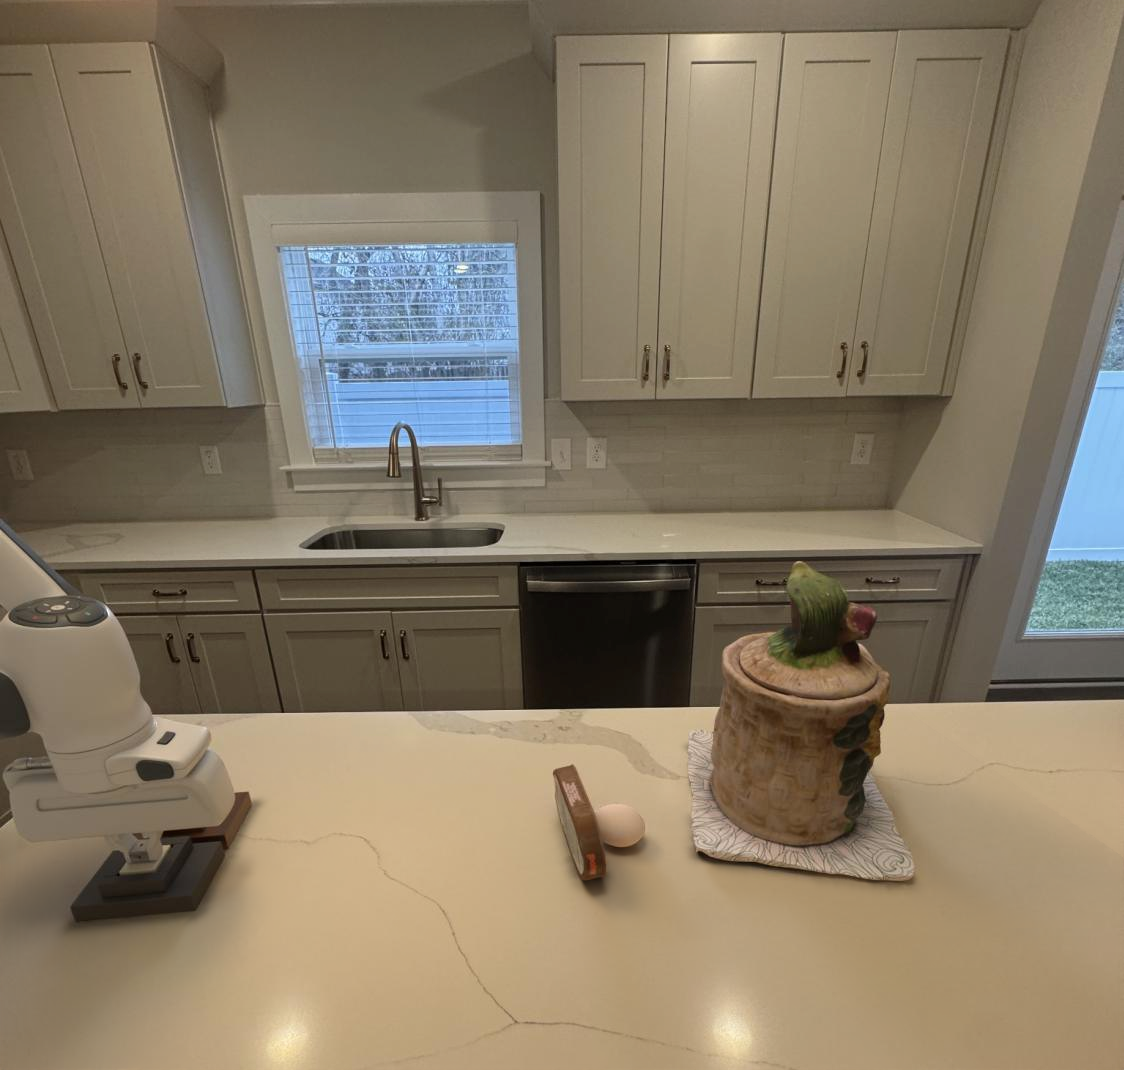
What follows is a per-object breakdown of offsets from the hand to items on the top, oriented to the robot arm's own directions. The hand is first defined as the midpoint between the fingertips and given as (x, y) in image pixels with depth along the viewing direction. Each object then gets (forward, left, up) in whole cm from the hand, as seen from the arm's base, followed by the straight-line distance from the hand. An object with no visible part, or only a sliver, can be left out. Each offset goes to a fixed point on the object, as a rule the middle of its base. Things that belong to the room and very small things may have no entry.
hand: (145, 857), depth 67 cm
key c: (0, 0, -2) cm, 2 cm away
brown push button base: (0, +9, -4) cm, 10 cm away
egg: (+56, -1, -2) cm, 56 cm away
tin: (+48, 0, -5) cm, 48 cm away
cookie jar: (+75, +4, -4) cm, 76 cm away
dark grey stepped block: (0, 0, -4) cm, 4 cm away
